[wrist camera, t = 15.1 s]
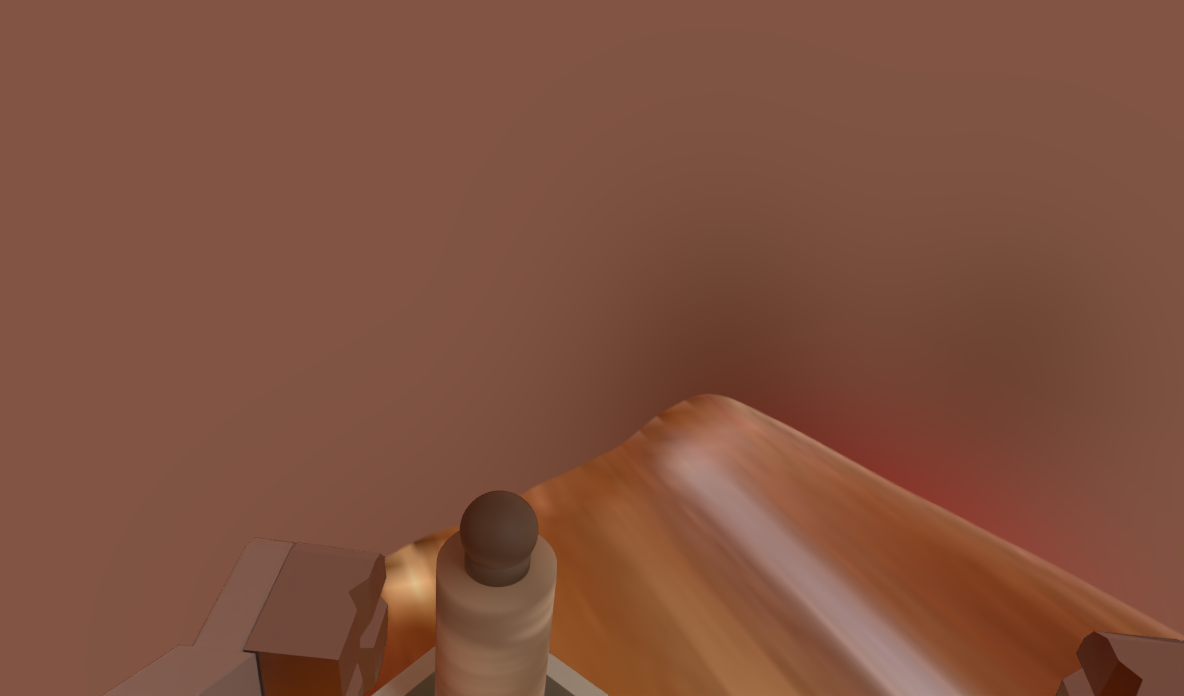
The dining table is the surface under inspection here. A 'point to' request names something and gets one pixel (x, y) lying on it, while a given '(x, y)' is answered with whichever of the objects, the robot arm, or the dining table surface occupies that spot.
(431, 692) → the box
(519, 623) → the pepper mill
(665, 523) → the dining table surface
